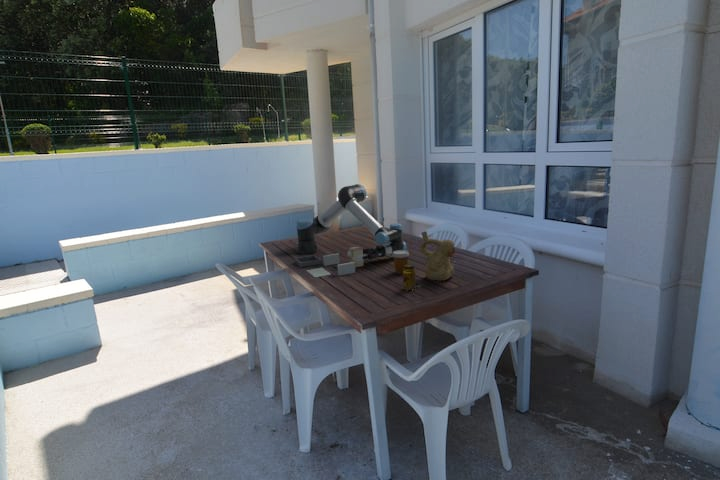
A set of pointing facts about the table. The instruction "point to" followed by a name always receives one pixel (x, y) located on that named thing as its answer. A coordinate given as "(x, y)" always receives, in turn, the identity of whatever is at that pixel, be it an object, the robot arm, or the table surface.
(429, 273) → the ceramic vessel
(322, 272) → the pad
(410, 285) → the condiment
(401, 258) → the disposable coffee cup
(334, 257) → the walled passage
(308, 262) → the tray
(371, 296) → the table surface
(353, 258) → the birch block
